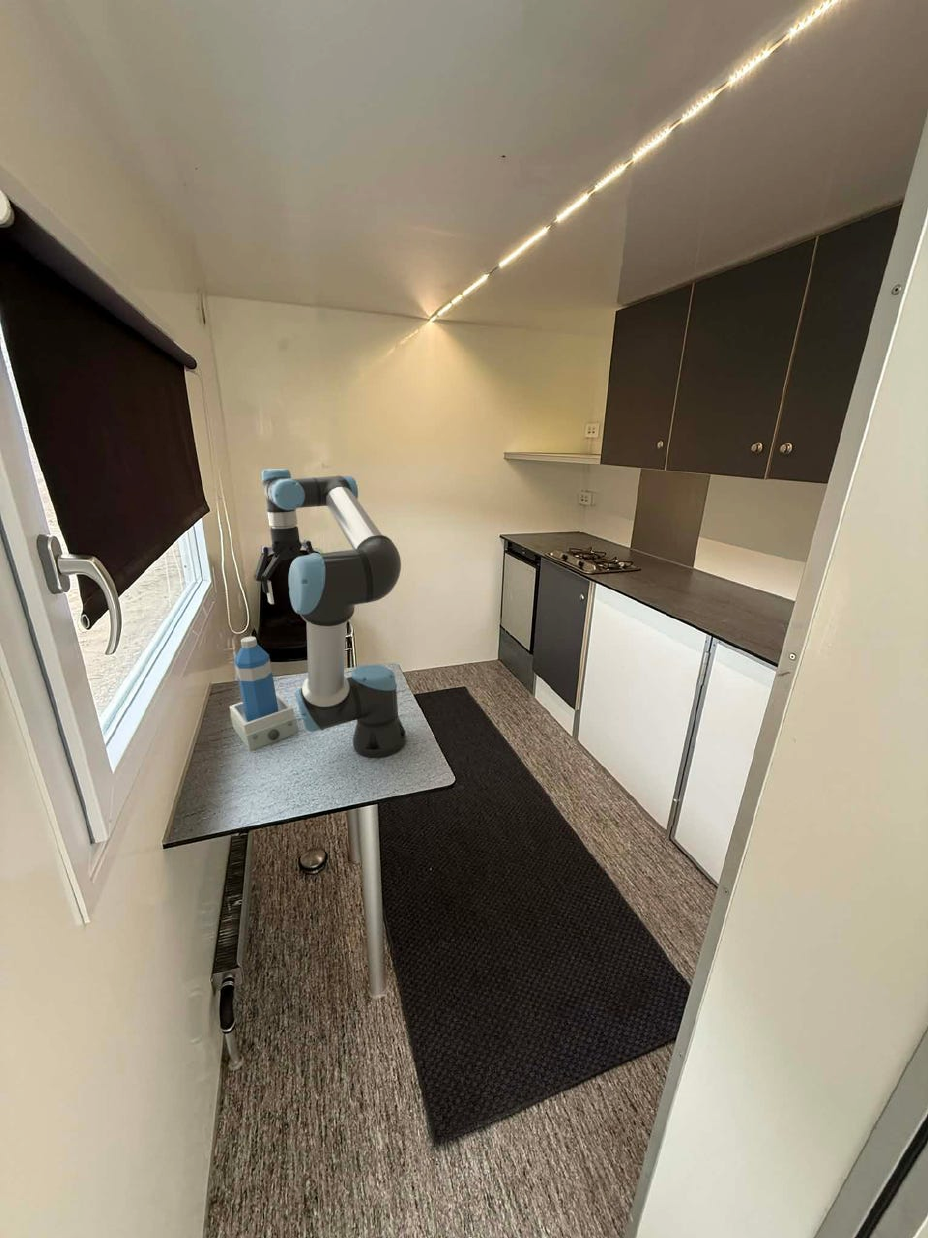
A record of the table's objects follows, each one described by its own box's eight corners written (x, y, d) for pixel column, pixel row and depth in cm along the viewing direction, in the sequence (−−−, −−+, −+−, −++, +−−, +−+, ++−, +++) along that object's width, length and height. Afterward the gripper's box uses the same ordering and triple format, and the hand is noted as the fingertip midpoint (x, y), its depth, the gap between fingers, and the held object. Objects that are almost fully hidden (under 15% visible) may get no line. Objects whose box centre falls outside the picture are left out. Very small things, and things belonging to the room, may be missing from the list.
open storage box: (298, 733, 143) (295, 710, 140) (250, 752, 135) (245, 728, 132) (278, 711, 155) (274, 690, 152) (233, 727, 147) (228, 705, 144)
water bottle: (244, 726, 138) (227, 647, 129) (247, 710, 146) (232, 635, 138) (278, 721, 140) (264, 643, 132) (279, 705, 149) (267, 631, 140)
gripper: (319, 520, 145) (327, 587, 152) (233, 530, 130) (246, 604, 137) (330, 522, 139) (338, 592, 146) (241, 533, 124) (255, 610, 131)
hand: (294, 598), depth 142 cm, fingers open, 13 cm apart
